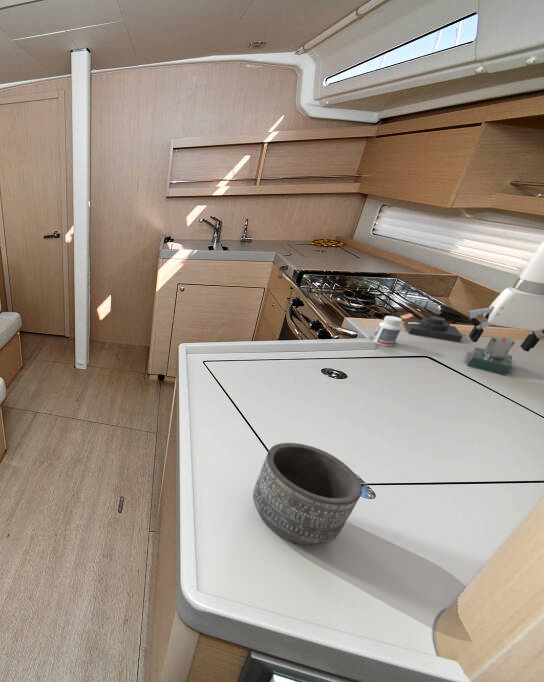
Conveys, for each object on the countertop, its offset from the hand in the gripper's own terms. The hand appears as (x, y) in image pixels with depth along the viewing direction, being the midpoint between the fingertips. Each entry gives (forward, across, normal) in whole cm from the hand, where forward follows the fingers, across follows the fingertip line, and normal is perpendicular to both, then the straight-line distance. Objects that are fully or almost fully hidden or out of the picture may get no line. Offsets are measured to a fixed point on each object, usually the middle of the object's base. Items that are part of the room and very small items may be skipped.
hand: (497, 344), depth 100 cm
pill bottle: (+7, +22, -2) cm, 23 cm away
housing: (+7, +8, -20) cm, 23 cm away
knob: (+4, 0, 0) cm, 4 cm away
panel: (+7, 0, 0) cm, 7 cm away
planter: (+6, +43, +91) cm, 101 cm away
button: (+3, +8, -20) cm, 22 cm away
